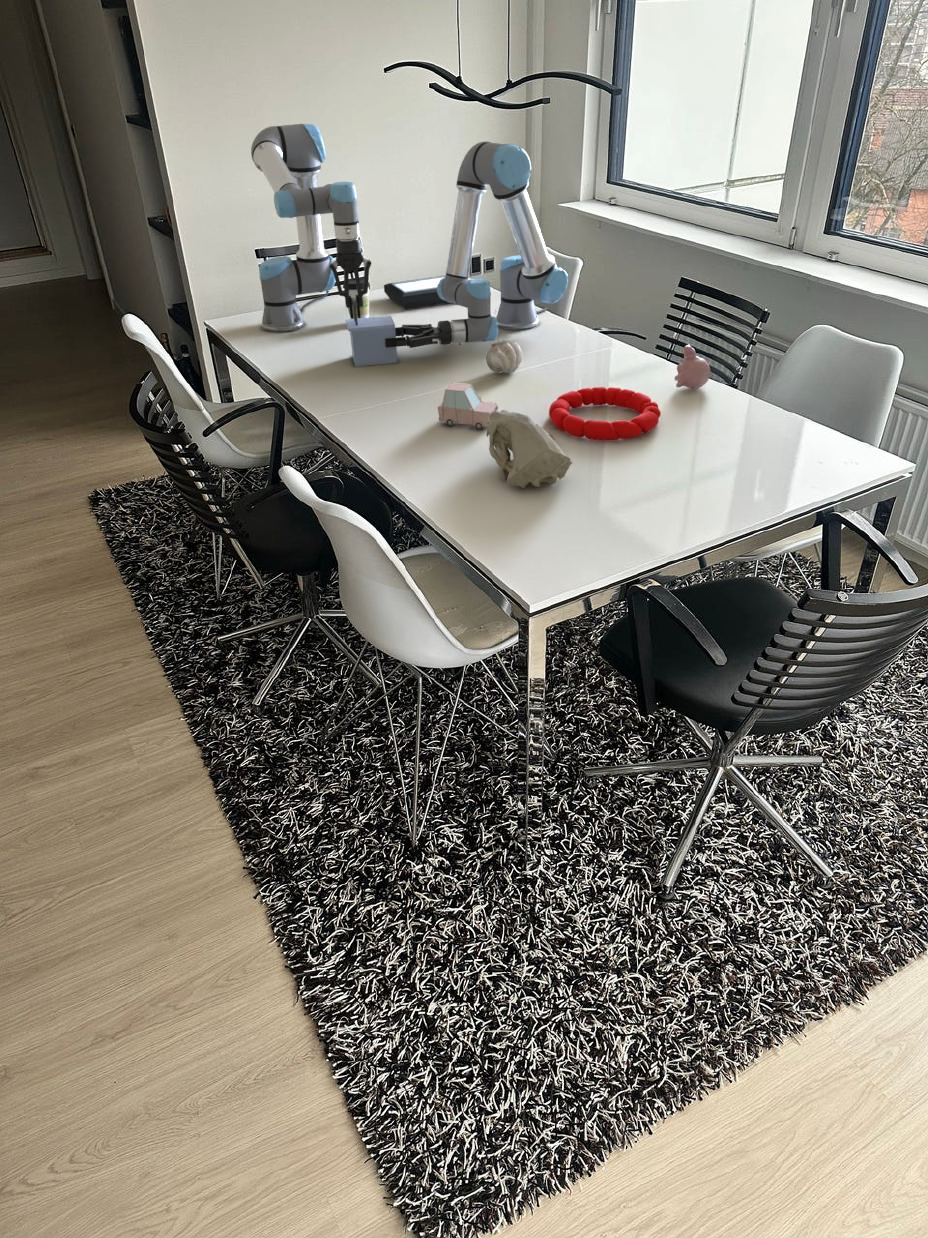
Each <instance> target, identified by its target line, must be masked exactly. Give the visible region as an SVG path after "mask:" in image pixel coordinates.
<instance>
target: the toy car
mask: <svg viewBox="0 0 928 1238" xmlns="http://www.w3.org/2000/svg"><path fill="white" fill-rule="evenodd" d="M498 409H499V404H498V403H497V402H490V401H489V402H487V401H483V397H481V396H480V395H479V394H478V393H477V391H476V390H475V389H474V386H472V384H469V383H459V382H451V383H450V384H449V385H448V386H447V387H446V388H445V389H444V394H443V399H442V403H440V404H439V405H438V406H437V413H438V421H439V422H443V423H446V425H447V426H448V427H452V426H454V425H455V424H461V425H469V426H473V427H475V429H476V430H479V431H480V430H481V429H483V428H485V427H486V428H487V423H488V422H490V414H491V413H492V412H496V411H499V410H498Z"/></svg>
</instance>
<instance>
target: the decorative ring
mask: <svg viewBox="0 0 928 1238" xmlns="http://www.w3.org/2000/svg"><path fill="white" fill-rule="evenodd" d="M583 405H584V406H586V407H587V406H591V405H593V406H604V405H608V406H614V407H619V408H624V409H628V410H632V411H635V412H636V413H638V414H639V415H637V416H635V417H632V418H631V419H630V420H625V419H624V420H623V419H622V420H614V421H611V422H609V421H607V420H606V421H605V420H593V419H587V420H586V421H585V419H584V418H582V417H579V416H577V415H573V414H571V413H570V410H571V409H579V408H581V407H582V406H583ZM548 416H549V419H550V422H551V423H552V425H553V426H554V427H555V428H556V429H558V430H559V431H561V432H563V433H567V434H568V435H569V436H573V437H576V438H580V439H582V438H583V437H585V438H586V439H587V440H591V441H601V442H602V441H603V442H608V441H609V442H610V441H611V442H612V441H615V442H616V441H618V440H630V439H634V438H638V437H641V436H642V434H647V433H650V432H651V431H653V430H654V429H655V428H656V427H657V426H658V424H659V422H660V421H659V420H660V417H661V410H660V408H659V405H658V403H657V402H656V401H652V399H651V397H649V396H648V395H646V394H644V393H642V392H635V391H634V390H632V389H628V388H624V389H622V388H620V387H613V386H612V387H611V386H610V387H608V388H606V387H604V386H594V387H585V388H584V387H583V388H580V389H578V390H571V391H568V392H565V393H563V394H561V395H560V396H558V397H557V398H556V400H554V401H552V403H551V404H550V407H549V409H548Z"/></svg>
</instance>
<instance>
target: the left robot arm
mask: <svg viewBox="0 0 928 1238" xmlns="http://www.w3.org/2000/svg"><path fill="white" fill-rule="evenodd" d="M250 155H251V160H252V162H253V164H254V165H255V167H256V168H257V170H259V171H260V172H262V173H263V175H264V177H265V178H266V180H267V181H268V184H269V186H270V187H271V189H272V190H273V193H274V194H273V203H274V209H275V211H276V215H277V216H278V217H279V218H281V219H285V218H286V219H287V218H289V219H293V218H296V219H295V220H296V227H297V236H298V244H299V248H298V250H297V251H296V253H295V257H296V259H293V260H292V258H291V257H290V256H288V255H284V256H275V257H271V258H268V259H266V260H264V261H262V262H261V263H260V265H259V266H258V273H259V280H260V287H261V292H262V299H263V313H262V319H261V326H262V330H264V331H265V332H271V333H286V332H293V331H296V330H297V331H298V330H300V329H302V328H304V326H305V319H304V317H303V314H302V313H303V311H304V309H305V308H306V307H307V306H309V305H311V304H312V303H314V302H316V301H318V300H321V299H324V298H326V297H327V296H328V295H329V293H330V291H331V290H332V289H333V288H334V286H335V284H336V288H337V292H338V295H339V296H340V297H344V302H345V307H346V309H348V308H350V314H349V318H350V317H351V318H350V319H353V309H352V298H351V295H350V296H349V279H350V278H349V276H350V275H349V273H350V272H353V274H354V278H355V281H356V286H357V292H358V295H356V301H357V304H358V305H357V315H358V318H361V315H360V307H361V306H363V299H362V296H363V295H364V294H367V293H368V282H369V279H370V277H369V276H370V269H371V266H372V261H371V259H367V258H365V257H364V254H362V242H361V239H360V237H361V231H360V221H359V220H360V219H359V208H358V194H357V188H356V185H355V183H354V182H352V181H336V182H332V183H327V184H325V185H323V186H319V180H318V174H319V173H320V172H321V171H322V164H323V163H325V162H326V156H327V155H326V147H325V144H324V140H323V137H322V134H321V131H320V130H319V128H318V126H317V125H315V124H313V123H295V124H294V123H293V124H284V125H271V126H268V127H265V128H263V129H262V130H260V131H259V132H258V134H257V135H256V136H255V138H254V139H253V141H252V143H251V147H250ZM327 214H332V219H333V228H334V229H333V230H334V237H335V239H336V240H335V246H336V247H335V248H336V257H335V259H334V257H333V256H331V255H330V253H329V251H328V250H327V249H326V248H325V243H324V234H323V233H324V232H323V224H322V223H323V222H322V215H327ZM362 263H363V267H364V271H363V278H364V283H363V290H361V285H360V279H359V278H360V273H359V269H360V267H361V266H362ZM338 265H339V267H340V268H341V269H342V270H343V284H344V288H343V287H342V284H341V281H340V276H339V273H338V270H337V269H338ZM342 288H343V289H342ZM323 292H325V294H324V295H321V296H319V297H315V298H314V299H312V300H309V301H308V302H306V303H305V304H303V305H302V307H301V308H300V307H299V306H298V305H299V304H298V303H297V296H300V295H307V294H315V293H323Z"/></svg>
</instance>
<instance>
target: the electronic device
mask: <svg viewBox="0 0 928 1238" xmlns="http://www.w3.org/2000/svg"><path fill="white" fill-rule="evenodd" d="M445 276H446V274H445V275H438V276H431V277H424V278H416V279H409V280H402V281H396V282H395V281H394V282H389V283H386V284H384V285H383V292H384V293H385V295H386V296H387V297H388V299H389V300H390V301H391V302H393V303H395V304H396V305H398V306H399V307H401V308H402V309H404V310H405V311H406V310H410V309H412V310H413V309H417V308H424V307H432V306H439V305H445V304H446V305H447V304H450V303H449V302H447V301H445V300H442V299H441V298H440V297H439V296H438V293H437V285H438V284H439V282H440V280H441V279H442V278H444V277H445ZM469 280H470V279H468V281H469Z"/></svg>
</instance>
